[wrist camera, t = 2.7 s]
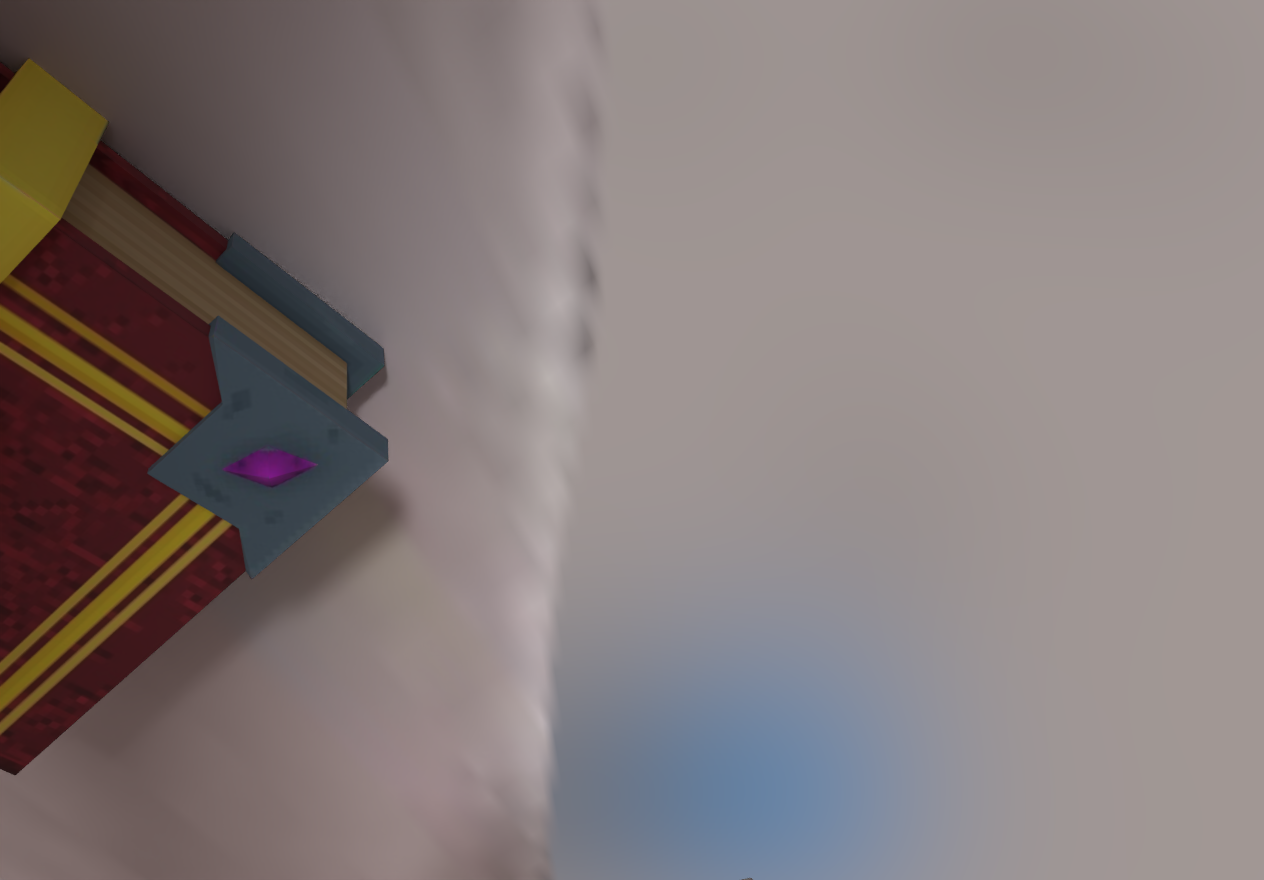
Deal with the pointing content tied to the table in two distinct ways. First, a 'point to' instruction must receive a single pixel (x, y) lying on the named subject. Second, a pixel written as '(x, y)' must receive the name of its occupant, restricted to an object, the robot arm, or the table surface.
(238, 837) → the table surface
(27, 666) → the decorative book
